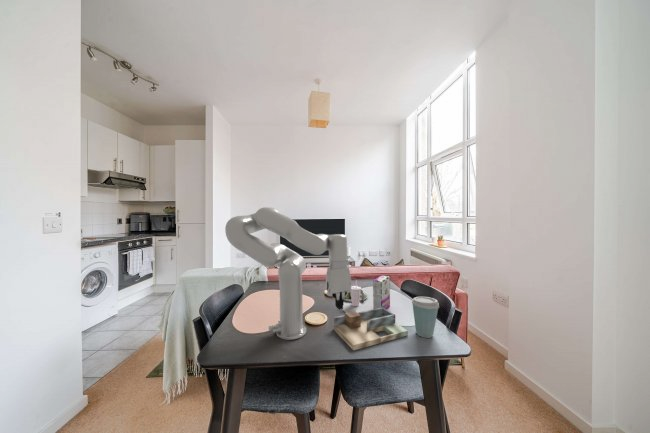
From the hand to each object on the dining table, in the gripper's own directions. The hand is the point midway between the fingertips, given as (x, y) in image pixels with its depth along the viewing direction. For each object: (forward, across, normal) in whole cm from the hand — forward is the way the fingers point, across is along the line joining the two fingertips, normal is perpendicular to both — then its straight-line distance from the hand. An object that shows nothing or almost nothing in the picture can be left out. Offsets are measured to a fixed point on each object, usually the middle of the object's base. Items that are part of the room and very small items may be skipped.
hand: (339, 308), depth 97 cm
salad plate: (+12, -27, -36) cm, 47 cm away
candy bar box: (+12, -32, -14) cm, 37 cm away
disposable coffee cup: (+12, -33, +14) cm, 38 cm away
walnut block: (+10, -7, -2) cm, 12 cm away
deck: (+12, -12, +3) cm, 17 cm away
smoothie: (+12, -22, -24) cm, 35 cm away
